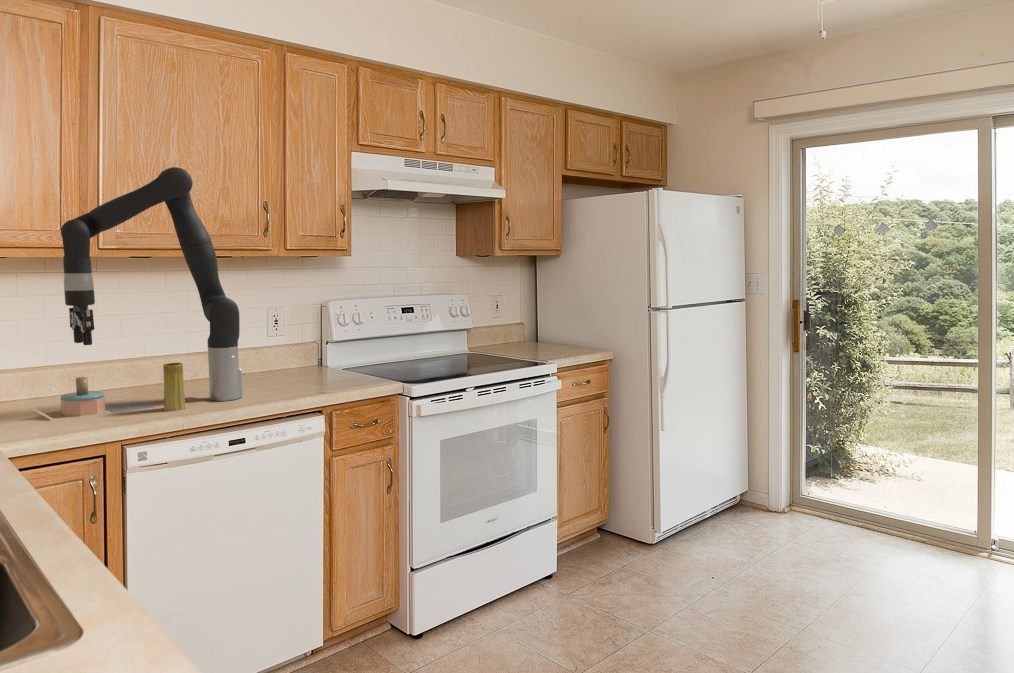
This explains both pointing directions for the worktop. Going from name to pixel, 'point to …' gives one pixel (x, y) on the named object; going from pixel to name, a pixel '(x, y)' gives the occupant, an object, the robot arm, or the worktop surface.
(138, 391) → the worktop surface
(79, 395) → the lid
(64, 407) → the bowl
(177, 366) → the vase
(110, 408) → the mat
